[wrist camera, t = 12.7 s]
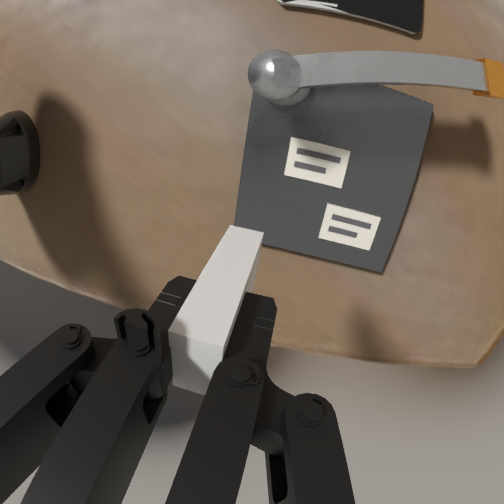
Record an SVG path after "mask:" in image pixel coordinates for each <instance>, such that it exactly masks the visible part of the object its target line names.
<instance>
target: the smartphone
mask: <svg viewBox="0 0 504 504" xmlns="http://www.w3.org/2000/svg"><path fill="white" fill-rule="evenodd" d="M277 1H278V2H279V3H280V4H281V5H286V6H295V7H303V8H310V9H317V10H323V11H328V12H334V13H339V14H344V15H348V16H353V17H357V18H361V19H365V20H369V21H372V22H376V23H379V24H383V25H386V26H389V27H393V28H396V29H399V30H402V31H405V32H407V33H410V34H416V33H418V32H419V31H420V30H421V22H422V1H423V0H277Z"/></svg>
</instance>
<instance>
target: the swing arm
mask: <svg viewBox="0 0 504 504" xmlns="http://www.w3.org/2000/svg"><path fill="white" fill-rule="evenodd" d="M248 79H249V83H250V85H251V87H252V88H253V89H254V91H255V92H256V93H258V94H259V95H261V96H263V97H265V98H268V99H274V100H285V99H289V98H291V97H293V96H294V95H296V94H297V93H298V92H299V91H300V89H305V88H315V87H327V86H343V85H372V84H391V85H419V86H434V87H445V88H455V89H463V90H470V91H473V95H478V96H484V97H491V98H504V68H503V63H502V62H499V61H495V60H490V59H486V58H484V59H479V60H468V59H463V58H456V57H450V56H442V55H434V54H425V53H413V52H395V51H347V52H329V53H316V54H306V55H297V56H292V55H291V54H289V53H287V52H285V51H281V50H269V51H265V52H263V53H261V54H259V55H258V56H256V57H255V58H254V59H253V61H252V62H251V64H250V66H249V69H248Z"/></svg>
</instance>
